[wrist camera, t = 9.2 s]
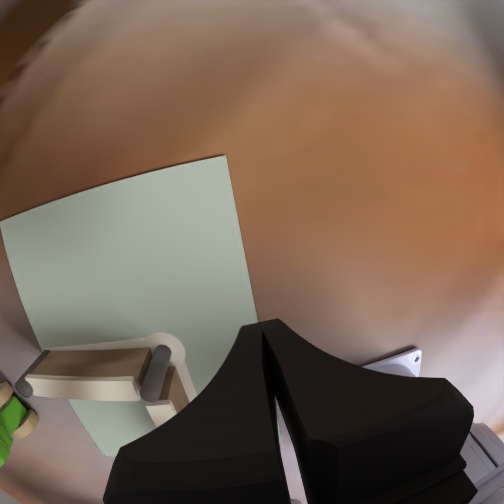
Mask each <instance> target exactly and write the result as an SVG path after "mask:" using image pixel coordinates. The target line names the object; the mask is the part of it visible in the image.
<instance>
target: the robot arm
mask: <svg viewBox="0 0 504 504" xmlns="http://www.w3.org/2000/svg"><path fill="white" fill-rule="evenodd" d="M421 355H422V351H421V350H420V349H419V348H415V349H412V350H409V351H407V352H404V353H401V354H398V355H395V356H393V357H390V358H387V359H384V360H381V361H378V362H375V363H372V364H368V365H365V366H362V367H360V366H357V365H354V364H351V363H348V362H346V361H343V360H341V359H339V358H336V357H334V356H332V355H330V354H328V353H326V352H324V351H322V350H320V349H319V348H317V347H315V346H314V345H312V344H311V343H309V342H308V341H306V340H305V339H303V338H302V337H301V336H299V335H298V334H297V333H295V332H294V331H293V330H292V329H290V328H289V327H288V326H287V325H286V324H285V323H284V322H283V321H281V320H280V319H273V320H268V321H263V322H258V323H253V324H248V325H243V326H241V328H240V329H239V332H238V335H237V337H236V340H235V342H234V344H233V346H232V348H231V350H230V352H229V353H228V355H227V357H226V359H225V361H224V362H223V364H222V365H221V367H220V368H219V370H218V371H217V373H216V374H215V376H214V377H213V378H212V380H211V381H210V382H209V383H208V385H207V386H206V387H205V388H204V389H203V390H202V391H201V393H200V394H198V395H197V396H196V397H195V398H194V399H193V400H192V401H191V402H190V403H189V404H188V405H187V406H185V407H184V408H183V409H182V410H181V411H180V412H178V413H177V414H176V415H174V416H173V417H172V418H170V419H169V420H168V421H166V422H165V423H163V424H162V425H160V426H159V427H157V428H156V429H154V430H152V431H151V432H149V433H147V434H145V435H143V436H141V437H140V438H138V439H136V440H134V441H132V442H130V443H128V444H126V445H124V446H122V447H120V448H119V451H118V453H117V456H116V458H115V460H114V463H113V466H112V469H111V472H110V476H109V479H108V483H107V486H106V489H105V493H104V496H103V502H104V504H291V500H290V495H289V491H288V486H287V481H286V476H285V472H284V467H283V462H282V457H281V451H280V444H279V433H278V423H277V412H276V402H275V396H276V399H277V402H278V405H279V407H280V410H281V413H282V416H283V419H284V421H285V424H286V427H287V430H288V432H289V435H290V438H291V441H292V444H293V447H294V450H295V453H296V457H297V462H298V466H299V470H300V474H301V478H302V482H303V486H304V491H305V495H306V499H307V503H308V504H504V443H503V442H502V441H501V440H500V439H499V437H498V436H497V435H496V434H495V433H494V432H493V431H492V430H491V429H490V428H489V427H488V426H487V425H485V424H484V423H477V424H475V423H472V422H473V418H474V410H473V406H472V405H471V404H470V403H469V401H468V400H467V399H466V398H465V397H464V396H463V395H462V394H461V393H460V391H459V390H458V389H457V388H456V387H454V386H453V385H452V384H451V383H450V382H449V381H448V380H447V379H446V378H427V377H419V370H420V363H421ZM416 357H417V358H416ZM415 358H416V359H415ZM469 434H470V435H471V436H470V435H469Z"/></svg>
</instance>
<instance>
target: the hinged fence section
mask: <svg viewBox="0 0 504 504" xmlns="http://www.w3.org/2000/svg"><path fill="white" fill-rule="evenodd" d="M151 359H152V352H151V349H150V347H147V348H132V349H113V350H87V351H49V350H44V351H43V352H42V354H41V355H40V356H39V357H38V358H37V359H36V360H35V361H34V363H33V364H32V365H31V366H30V367H29V368H28V369H27V371H26V372H25V373H24V374H23V375H22V376H21V377H20V379H19V380H18V381H17V382H16V383H15V388H16V390H17V391H18V393H19V394H20V395H22V396H23V397H25V398H29V397H30V396H31V395H32V393H33V395H34V396H41V397H50V398H62V399H75V400H94V401H140V398H141V396H140V394H139V392H140V389H141V386H142V383H143V381H144V378H145V375H146V372H147V370H148V367H149V364H150V362H151Z"/></svg>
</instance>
